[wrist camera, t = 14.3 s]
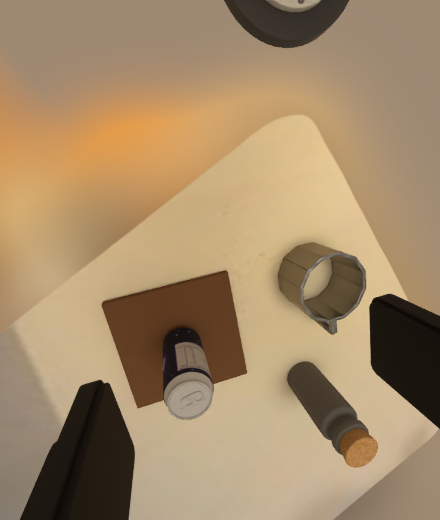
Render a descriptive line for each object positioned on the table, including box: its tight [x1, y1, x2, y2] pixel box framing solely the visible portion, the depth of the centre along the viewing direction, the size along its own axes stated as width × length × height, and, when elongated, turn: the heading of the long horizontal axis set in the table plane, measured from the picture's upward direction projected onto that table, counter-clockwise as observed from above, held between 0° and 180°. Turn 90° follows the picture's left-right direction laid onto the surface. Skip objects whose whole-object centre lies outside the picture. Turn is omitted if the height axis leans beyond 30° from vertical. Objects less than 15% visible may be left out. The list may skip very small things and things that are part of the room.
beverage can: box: [162, 328, 214, 420], centre depth 34 cm, size 6×6×12 cm
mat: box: [102, 271, 247, 408], centre depth 40 cm, size 18×18×1 cm
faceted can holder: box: [278, 243, 366, 334], centre depth 40 cm, size 13×10×7 cm
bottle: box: [288, 362, 378, 468], centre depth 41 cm, size 6×6×15 cm
